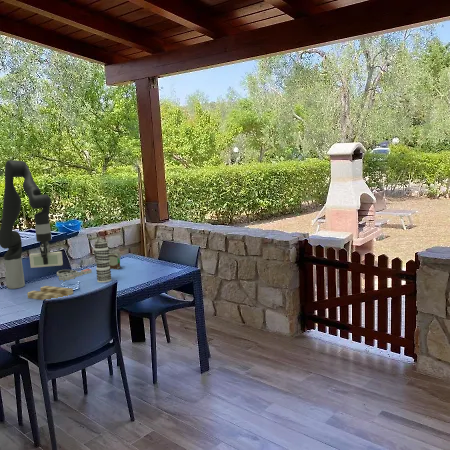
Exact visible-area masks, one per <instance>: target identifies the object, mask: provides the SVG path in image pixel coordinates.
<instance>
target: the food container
mask: <svg viewBox="0 0 450 450" xmlns="http://www.w3.org/2000/svg"><path fill="white" fill-rule="evenodd" d="M109 253H110V254H108V256H110V257H109V258H110V261H109V265H110V269H111V270H115V271H117V270H120V269H121V258H122V255H121V253H120V252H109Z"/></svg>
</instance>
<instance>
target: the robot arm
mask: <svg viewBox="0 0 450 450" xmlns="http://www.w3.org/2000/svg"><path fill="white" fill-rule="evenodd" d="M14 178H23V179H24V181H23V183H22V188H23V189H22V190H23V191H24V192H25V194H26V195H27V199H28V204H29V206H30V207H31V208H32V209H34V210H37V209H41V211H40V212H37V213H35V214H34V224H35V228H34V229H35V230H34V231H35V236H36V242H37V243H40V245H39V246H40V247H39V251H40V252H39V253H41V257H42V258H43V263H44V265H46V264H48V258H47V257H48V256H47V253H48V252H50V251H51V250H50V249H51V245H50V244H51V243H50V241H52V239H53V238H52V231H51V230H52V229H51V225H50V216H49V215H50V211H51V210H50V209H51V197H50V196H49V195H48V194H42V191H41V189H40V188H39V186H38V185H37V184H36V182H35V180H34V178H33V176H32V172H31V169H30V168H29V165H28V164H27V163H26V162H25V161H24V160H11V159H9V160H7V161H6V162H5V166H4V193H3V203H2V216H1V222H0V223H1V224H0V247H1V248H2V249H3V250H5V249H6V250H7V251H6V252H5V253H4V255H3V261H4V267H5V271H4V277H5V283H6V288H7V289H12V290H15V289H20V288H23V287H24V286H26V284H25V275H24V267H23V261H22V260H23V259H22V253H23V246H22V245H23V244H22V243H23V242H22V237H21V234H20V233H19V232H18V231H16V230H13V228H14V225H15V222H16V221H17V219H18V218H19V215H20V213H21V210H22V209H21V207H22V199H21V196H20V194H19V192H18V191H17V189H16V187H15V185H14ZM44 254H45V255H44Z"/></svg>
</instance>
